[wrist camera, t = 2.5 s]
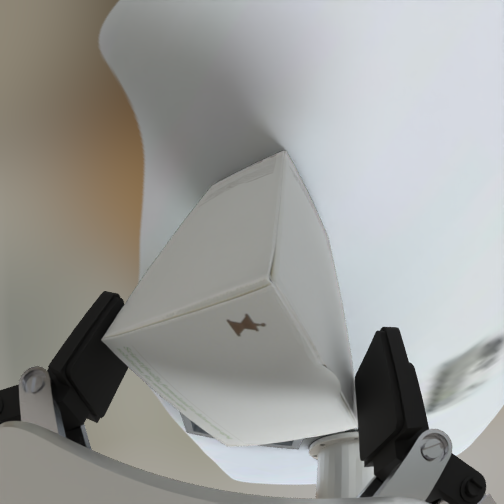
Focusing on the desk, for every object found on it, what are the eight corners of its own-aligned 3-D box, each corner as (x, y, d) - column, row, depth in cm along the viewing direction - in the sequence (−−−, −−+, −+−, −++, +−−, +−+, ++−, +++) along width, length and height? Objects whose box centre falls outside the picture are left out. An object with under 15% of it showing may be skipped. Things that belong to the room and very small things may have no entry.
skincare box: (210, 183, 21) (84, 331, 8) (291, 144, 19) (273, 264, 6) (261, 271, 25) (220, 451, 11) (336, 243, 22) (365, 435, 9)
